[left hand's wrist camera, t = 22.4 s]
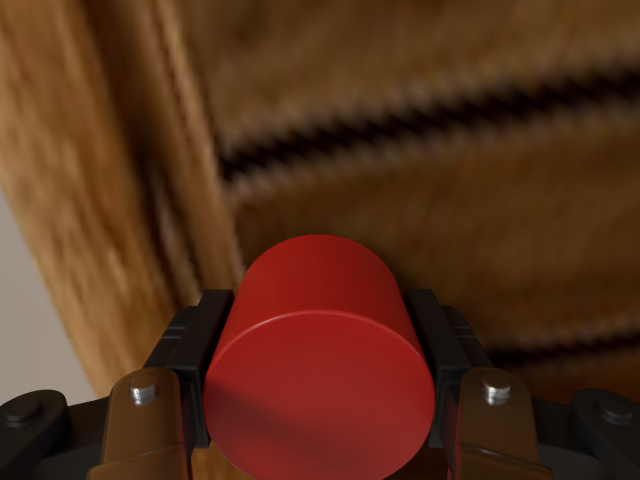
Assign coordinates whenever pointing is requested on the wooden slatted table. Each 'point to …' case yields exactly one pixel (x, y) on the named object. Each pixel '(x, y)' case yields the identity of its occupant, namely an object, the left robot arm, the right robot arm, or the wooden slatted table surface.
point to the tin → (318, 368)
